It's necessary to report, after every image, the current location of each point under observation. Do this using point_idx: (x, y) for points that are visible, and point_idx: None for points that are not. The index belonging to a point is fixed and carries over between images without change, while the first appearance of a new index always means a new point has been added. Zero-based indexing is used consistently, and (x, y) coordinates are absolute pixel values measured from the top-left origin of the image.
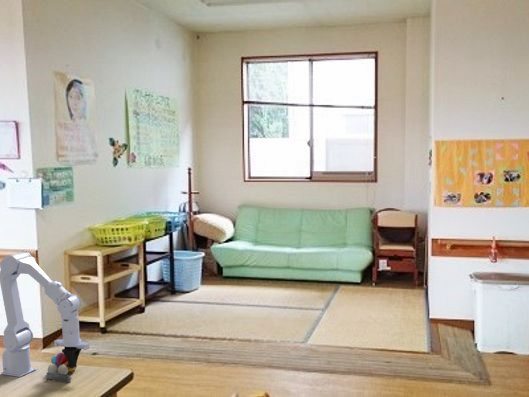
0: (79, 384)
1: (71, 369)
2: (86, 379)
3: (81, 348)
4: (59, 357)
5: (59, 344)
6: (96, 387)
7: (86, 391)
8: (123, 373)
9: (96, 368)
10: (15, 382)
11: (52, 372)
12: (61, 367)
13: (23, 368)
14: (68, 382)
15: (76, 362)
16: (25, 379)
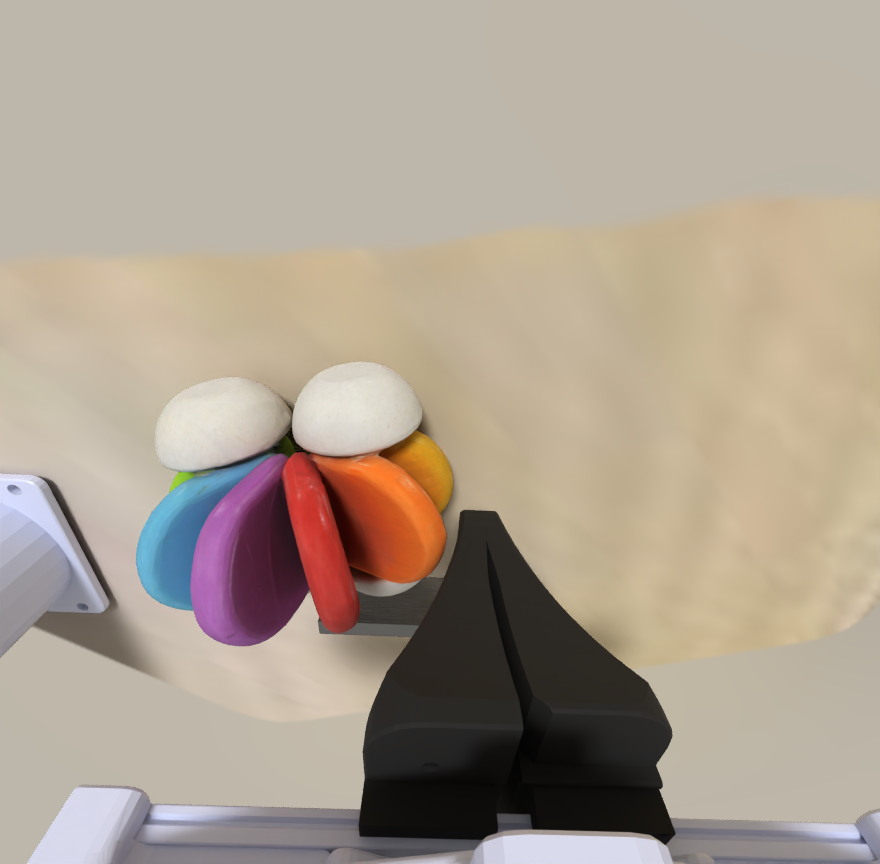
0: (628, 590)
1: (446, 504)
2: (637, 519)
3: (763, 844)
4: (275, 611)
5: (184, 858)
6: (777, 598)
7: (728, 645)
8: None
9: (603, 268)
10: (181, 650)
11: (364, 622)
12: (394, 594)
13: (36, 612)
14: None
15: (508, 541)
16: (187, 612)
